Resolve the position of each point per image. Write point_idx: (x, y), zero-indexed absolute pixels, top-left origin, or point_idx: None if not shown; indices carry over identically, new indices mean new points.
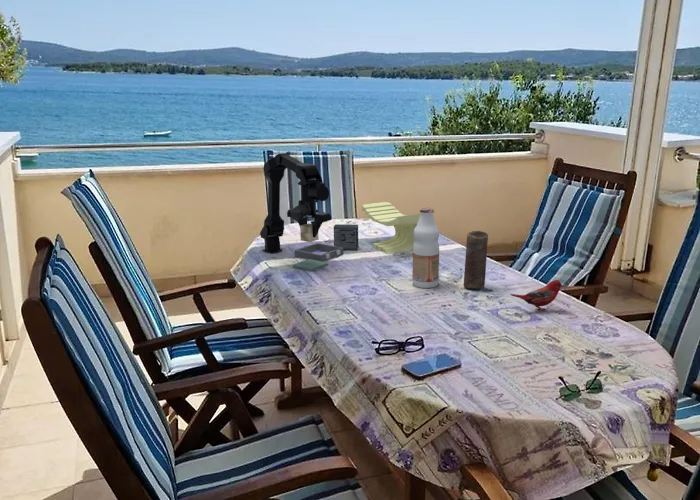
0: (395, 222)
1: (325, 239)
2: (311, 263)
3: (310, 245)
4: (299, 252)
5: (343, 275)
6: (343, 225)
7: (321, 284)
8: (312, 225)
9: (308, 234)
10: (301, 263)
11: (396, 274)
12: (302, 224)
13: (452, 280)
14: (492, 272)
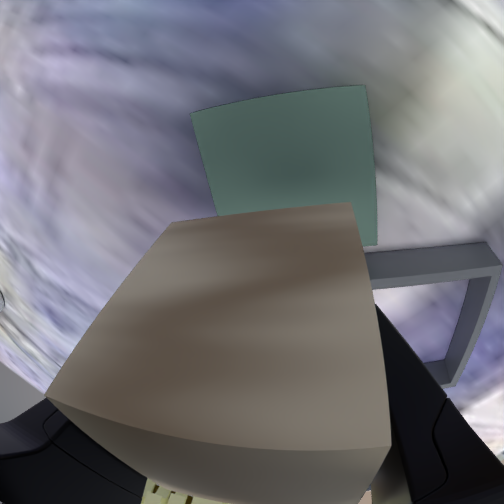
0: (146, 496)
1: (469, 414)
2: (288, 187)
3: (465, 354)
4: (468, 263)
5: (69, 197)
6: (369, 486)
7: (28, 62)
8: (46, 442)
9: (145, 286)
10: (339, 142)
11: (42, 308)
12: (396, 483)
13: (5, 327)
14: (36, 379)
